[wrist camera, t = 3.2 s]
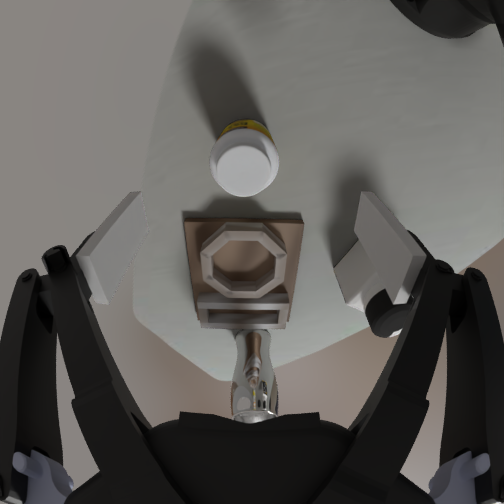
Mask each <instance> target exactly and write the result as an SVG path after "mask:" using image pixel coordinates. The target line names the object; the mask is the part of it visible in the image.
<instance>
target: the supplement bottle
mask: <svg viewBox="0 0 504 504" xmlns="http://www.w3.org/2000/svg"><path fill="white" fill-rule="evenodd" d="M209 164H210V170H211V173H212V175H213V177H214V179H215V180H216V182H217V183H218V184H219V185H220V186H221V187H222V188H223V189H224V190H225V191H227V192H228V193H230V194H232V195H235V196H240V197H247V196H252V195H255V194H257V193H259V192H260V191H262V190H263V189H265V188H266V187H267V186H269V185H270V184H271V182H272V181H273V180H274V178H275V177H276V174H277V172H278V168H279V156H278V152H277V149H276V146H275V144H274V142H273V139H272V137H271V134H270V133H269V131H268V130H267V128H266V127H265V126H264V125H262V124H261V123H259V122H257V121H255V120H251V119H241V120H237V121H234V122H232V123H231V124H229V125H228V126H227V127H226V128H225V129H224V130H223V132H222V133H221V135H220V136H219V138H218V140H217V141H216V143H215V144H214V146H213V148H212V151H211V154H210V160H209Z"/></svg>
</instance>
